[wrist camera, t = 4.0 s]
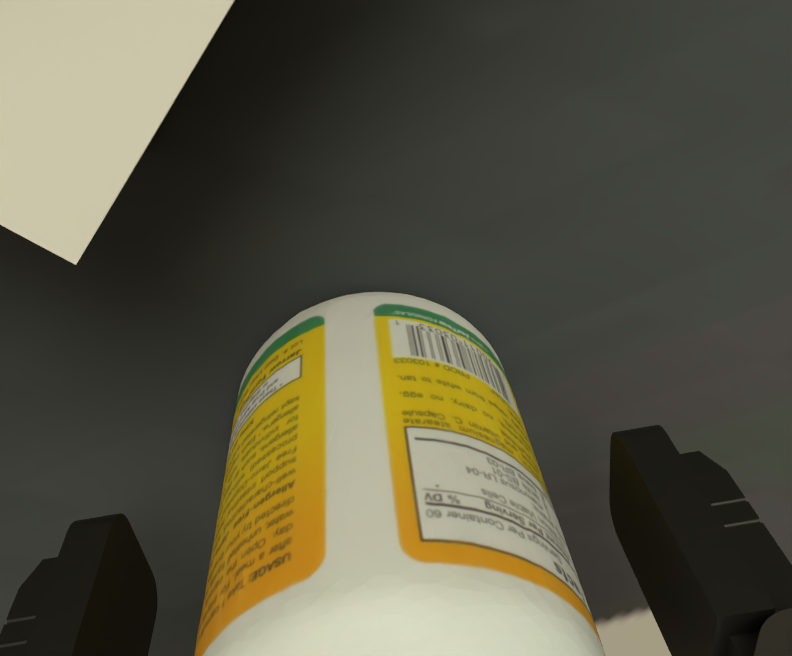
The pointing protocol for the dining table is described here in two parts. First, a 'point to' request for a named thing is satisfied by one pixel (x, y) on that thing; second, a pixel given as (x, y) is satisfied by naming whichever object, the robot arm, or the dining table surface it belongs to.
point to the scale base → (87, 104)
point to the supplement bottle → (386, 499)
